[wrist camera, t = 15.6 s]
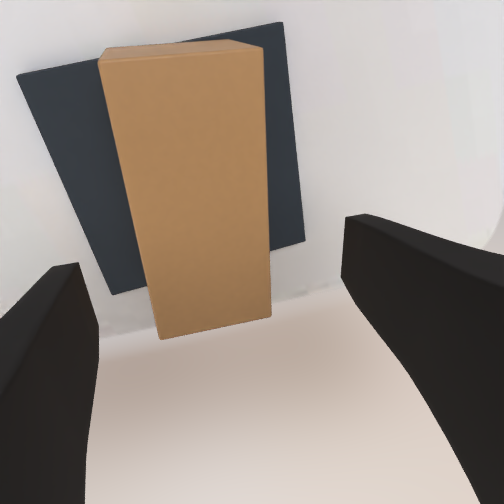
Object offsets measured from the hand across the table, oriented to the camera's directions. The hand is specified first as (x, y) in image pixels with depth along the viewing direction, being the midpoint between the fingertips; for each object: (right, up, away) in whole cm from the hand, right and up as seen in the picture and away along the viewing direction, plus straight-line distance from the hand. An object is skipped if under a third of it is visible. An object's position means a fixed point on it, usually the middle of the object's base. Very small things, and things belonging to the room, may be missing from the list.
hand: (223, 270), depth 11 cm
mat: (-2, +4, +7) cm, 8 cm away
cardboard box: (-2, +4, +7) cm, 8 cm away
